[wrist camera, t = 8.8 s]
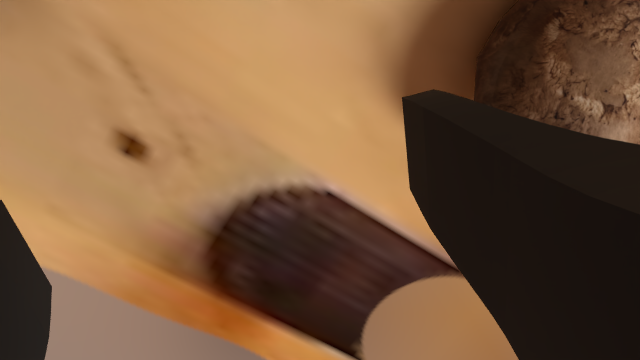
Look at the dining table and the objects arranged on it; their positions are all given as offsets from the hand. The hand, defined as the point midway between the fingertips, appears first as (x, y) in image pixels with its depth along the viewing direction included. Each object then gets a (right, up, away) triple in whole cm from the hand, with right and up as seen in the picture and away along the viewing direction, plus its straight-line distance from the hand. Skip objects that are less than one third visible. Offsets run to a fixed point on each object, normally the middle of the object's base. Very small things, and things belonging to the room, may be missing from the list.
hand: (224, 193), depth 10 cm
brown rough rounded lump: (+11, +5, +12) cm, 17 cm away
